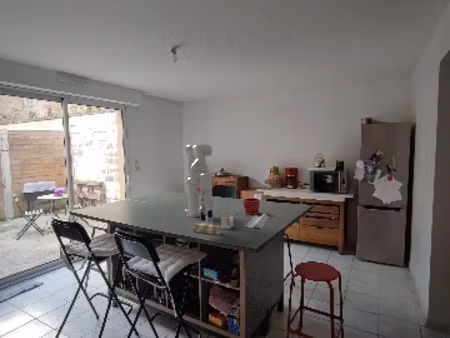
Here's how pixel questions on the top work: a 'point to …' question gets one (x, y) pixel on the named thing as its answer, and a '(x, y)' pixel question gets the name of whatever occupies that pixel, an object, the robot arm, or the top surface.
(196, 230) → the beige wooden bar
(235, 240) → the top surface
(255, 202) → the plant pot
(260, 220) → the crown molding
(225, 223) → the cup brackets
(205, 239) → the top surface
